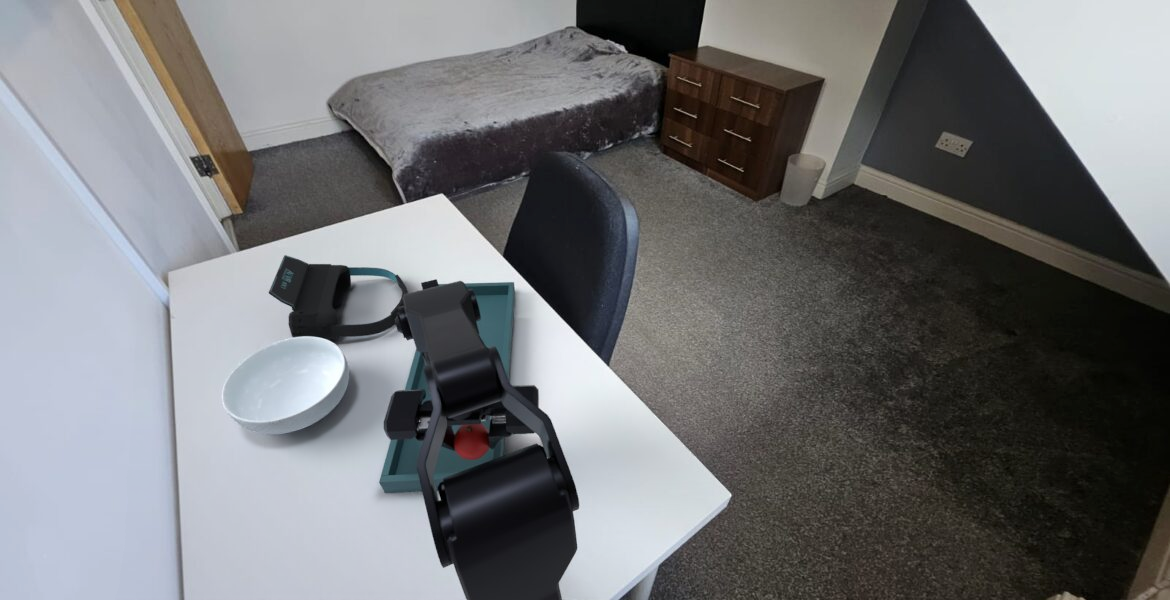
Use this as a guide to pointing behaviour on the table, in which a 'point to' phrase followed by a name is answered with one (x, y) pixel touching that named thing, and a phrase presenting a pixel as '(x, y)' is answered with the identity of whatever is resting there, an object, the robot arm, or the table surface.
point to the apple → (471, 441)
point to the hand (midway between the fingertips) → (474, 446)
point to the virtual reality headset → (324, 298)
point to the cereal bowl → (286, 385)
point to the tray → (405, 452)
